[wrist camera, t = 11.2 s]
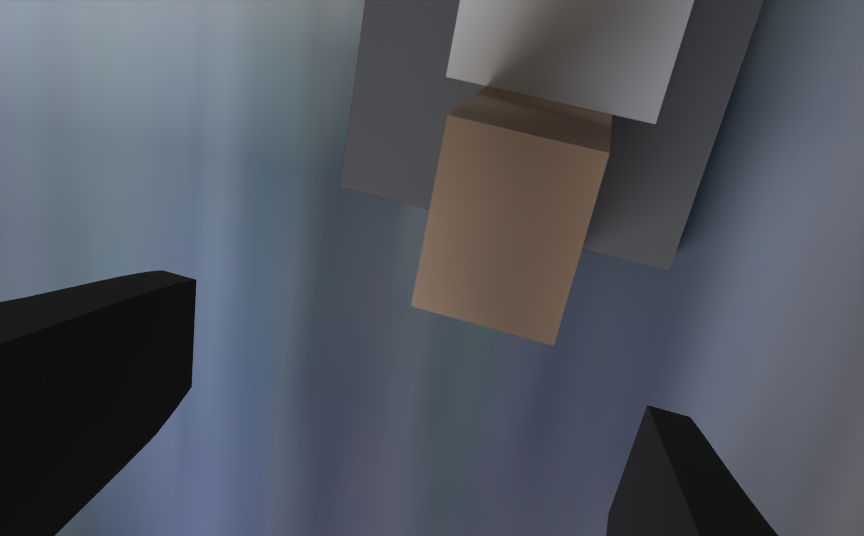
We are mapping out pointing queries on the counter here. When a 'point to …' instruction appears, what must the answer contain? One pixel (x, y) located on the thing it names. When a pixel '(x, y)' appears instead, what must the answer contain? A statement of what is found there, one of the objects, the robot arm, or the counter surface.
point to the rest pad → (630, 139)
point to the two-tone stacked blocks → (535, 149)
